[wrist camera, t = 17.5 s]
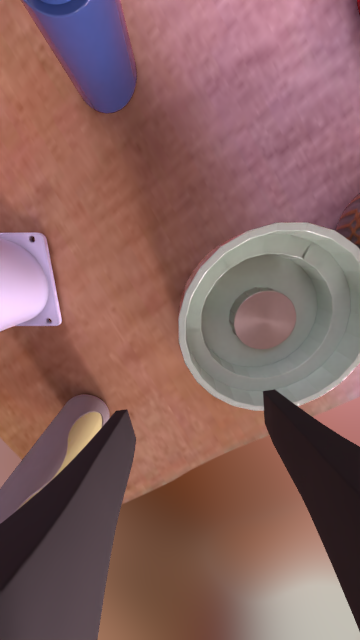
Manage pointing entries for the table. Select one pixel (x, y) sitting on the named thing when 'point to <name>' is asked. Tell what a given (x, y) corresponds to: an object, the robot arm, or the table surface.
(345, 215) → the vase
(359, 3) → the soda can
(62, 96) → the table surface
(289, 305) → the lid
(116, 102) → the jar
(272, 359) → the bowl
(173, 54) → the table surface
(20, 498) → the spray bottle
